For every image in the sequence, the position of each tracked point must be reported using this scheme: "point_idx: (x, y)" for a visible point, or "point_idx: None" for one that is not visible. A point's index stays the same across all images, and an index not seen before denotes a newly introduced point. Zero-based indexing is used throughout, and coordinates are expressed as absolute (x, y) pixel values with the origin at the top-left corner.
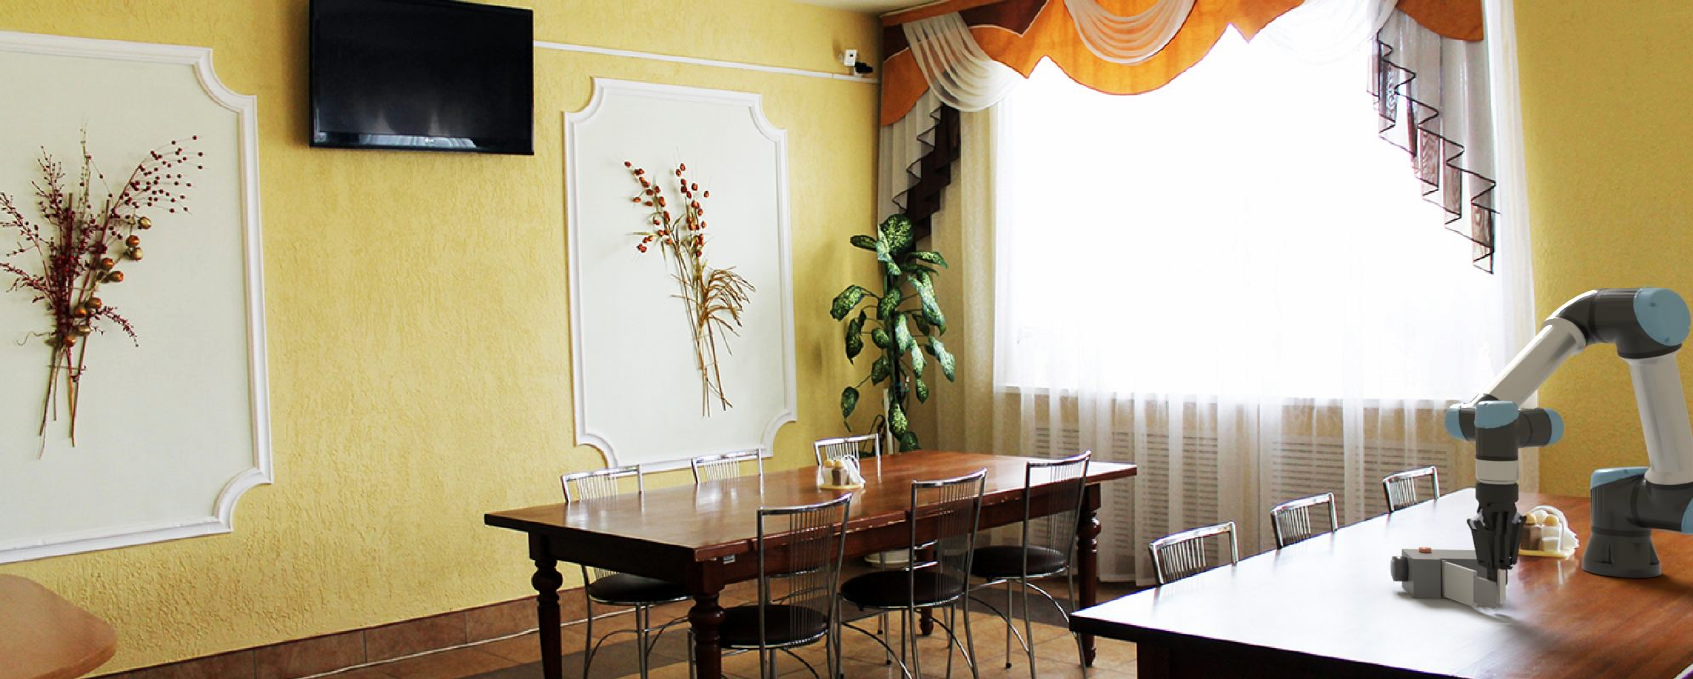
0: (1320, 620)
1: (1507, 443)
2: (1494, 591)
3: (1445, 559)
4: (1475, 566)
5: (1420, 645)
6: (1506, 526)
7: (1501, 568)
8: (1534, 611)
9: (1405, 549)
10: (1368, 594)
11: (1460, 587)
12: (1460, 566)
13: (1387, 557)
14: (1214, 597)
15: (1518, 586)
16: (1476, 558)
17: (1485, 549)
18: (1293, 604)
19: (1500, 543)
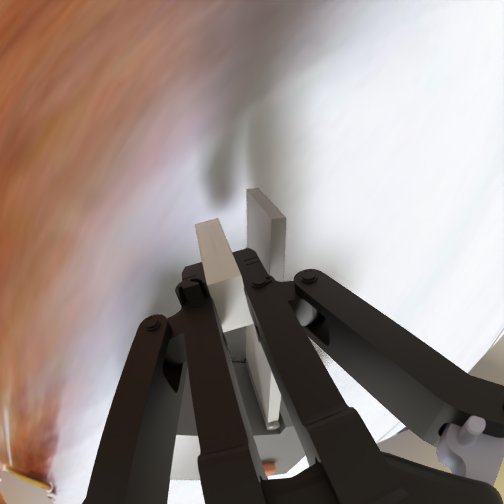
0: (498, 223)
1: None
2: (268, 206)
3: (266, 432)
4: (190, 418)
5: (486, 46)
6: (264, 496)
7: (214, 305)
8: (96, 237)
9: (283, 471)
10: (349, 375)
11: None
12: (274, 387)
13: (188, 495)
14: (482, 335)
15: (65, 413)
16: (186, 439)
17: (376, 315)
18: (463, 310)
19: (240, 402)
